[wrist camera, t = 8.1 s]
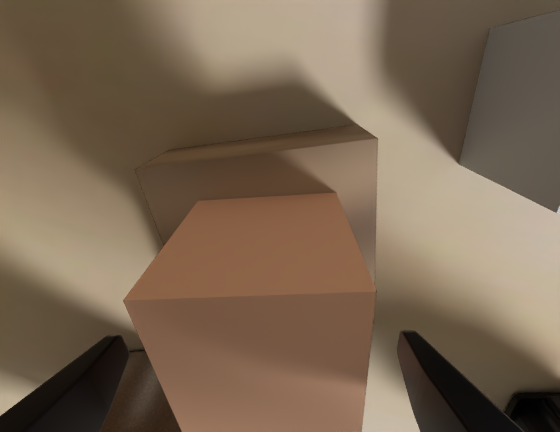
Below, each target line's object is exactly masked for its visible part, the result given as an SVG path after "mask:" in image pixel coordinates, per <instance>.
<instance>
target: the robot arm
mask: <svg viewBox="0 0 560 432" xmlns="http://www.w3.org/2000/svg"><path fill="white" fill-rule="evenodd" d="M397 354H398V358H399V362H400V366H401V370H402V373H403V377H404V381H405V384H406V388H407V392H408V396H409V399H410V403H411V406H412V410H413V413H414V416H415V419H416V421H417V424H418V427H419V429H420V432H560V393H520V394H517V395H515V396H514V397H513V399H512V401H511V403H510V405H509V407H508V408H507V410H506V412H505V414H504V413H503V412H502V411H501V410H500V409H499V408H498V407H497V406H496V405H495V404H494V403H493V402H492V401H490V400H489V399H488V398H487V397H486V396H485V395H484V394H483V393H482V392H481V391H480V390H479V389H478V388H477V387H475V386H474V385H473V384H472V383H471V382H470V381H469V380H468V379H467V378H466V377H465V376H464V375H463V374H461V373H460V372H459V371H458V370H457V369H456V368H455V367H454V366H453V365H452V364H451V363H450V362H449V361H447V360H446V359H445V358H444V357H443V356H442V355H441V354H440V353H439V352H438V351H437V350H436V349H435V348H433V347H432V346H431V345H430V344H429V343H428V342H427V341H426V340H425V339H424V338H423V337H422V336H421V335H419V334H418V333H417V332H416V331H414V330H403V331H401V332H400V335H399V341H398V346H397ZM128 359H129V350H128V348H127V346H126V344H125V341H124V339H123V337H122V336H121V335H108V336H106V337H105V338H103V339H102V340H101V341H99V342H98V343H97V344H95V345H94V346H93V347H91V348H90V349H89V350H87V351H86V352H85V353H83V354H82V355H81V356H79V357H78V358H77V359H75V360H74V361H73V362H71V363H70V364H69V365H67V366H66V367H65V368H63V369H62V370H61V371H59V372H58V373H57V374H55V375H54V376H53V377H51V378H50V379H49V380H47V381H46V382H45V383H43V384H42V385H41V386H39V387H38V388H37V389H35V390H34V391H33V392H31V393H30V394H29V395H27V396H26V397H25V398H23V399H22V400H21V401H20V402H18V403H17V404H16V405H14V406H13V407H12V408H10V409H9V410H8V411H6V412H5V413H4V414H2V415H1V416H0V432H100V430H101V428H102V426H103V424H104V422H105V419H106V417H107V415H108V413H109V410H110V408H111V405H112V403H113V400H114V398H115V395H116V392H117V389H118V387H119V384H120V381H121V378H122V376H123V373H124V370H125V367H126V364H127V362H128Z"/></svg>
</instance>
